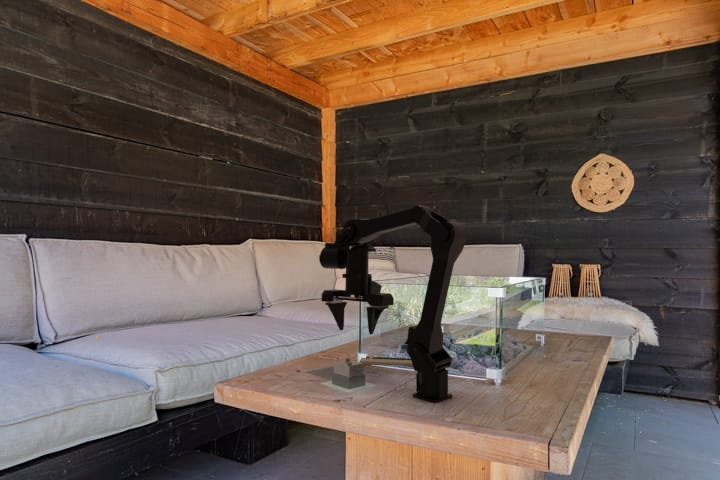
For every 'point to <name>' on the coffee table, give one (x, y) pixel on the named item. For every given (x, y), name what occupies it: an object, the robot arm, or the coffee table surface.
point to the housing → (348, 374)
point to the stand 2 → (329, 384)
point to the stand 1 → (323, 372)
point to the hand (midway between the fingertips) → (356, 332)
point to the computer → (387, 361)
